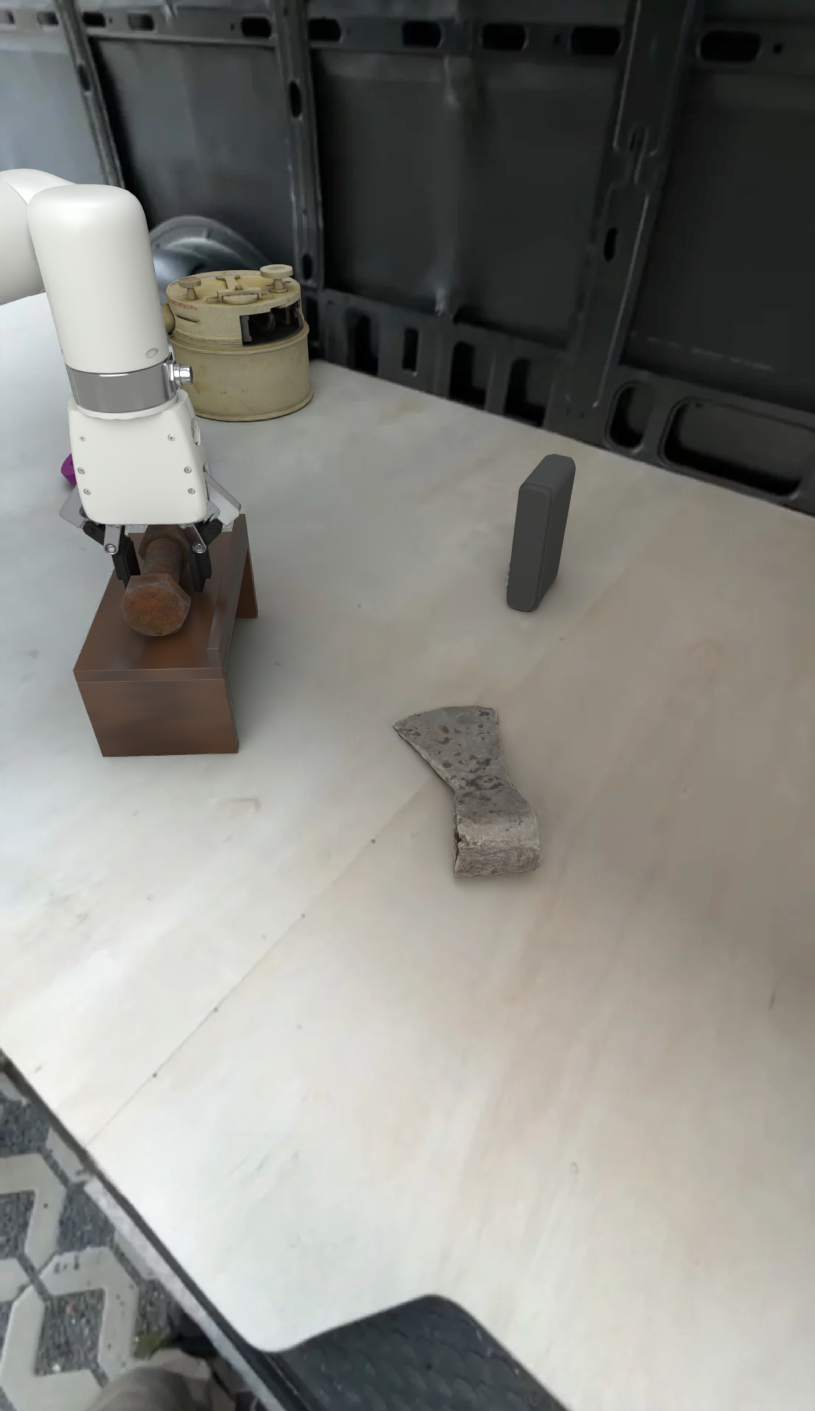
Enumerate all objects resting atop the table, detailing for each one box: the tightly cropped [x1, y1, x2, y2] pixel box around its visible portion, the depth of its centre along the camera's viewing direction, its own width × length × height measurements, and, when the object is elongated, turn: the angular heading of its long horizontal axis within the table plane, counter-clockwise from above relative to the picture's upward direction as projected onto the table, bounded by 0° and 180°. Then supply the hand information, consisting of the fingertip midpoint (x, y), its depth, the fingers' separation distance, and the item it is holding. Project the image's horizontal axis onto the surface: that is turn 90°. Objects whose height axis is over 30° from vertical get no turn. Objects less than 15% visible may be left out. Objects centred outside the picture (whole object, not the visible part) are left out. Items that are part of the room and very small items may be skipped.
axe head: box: [393, 705, 541, 878], centre depth 68 cm, size 21×5×10 cm
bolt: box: [118, 524, 191, 636], centre depth 70 cm, size 6×5×15 cm
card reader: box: [505, 453, 577, 612], centre depth 86 cm, size 9×4×15 cm, turn 154°
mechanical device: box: [161, 263, 314, 422], centre depth 125 cm, size 22×34×20 cm, turn 109°
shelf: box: [72, 513, 259, 758], centre depth 75 cm, size 12×22×12 cm, turn 3°
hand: (167, 582), depth 72 cm, fingers closed on bolt, 5 cm apart
